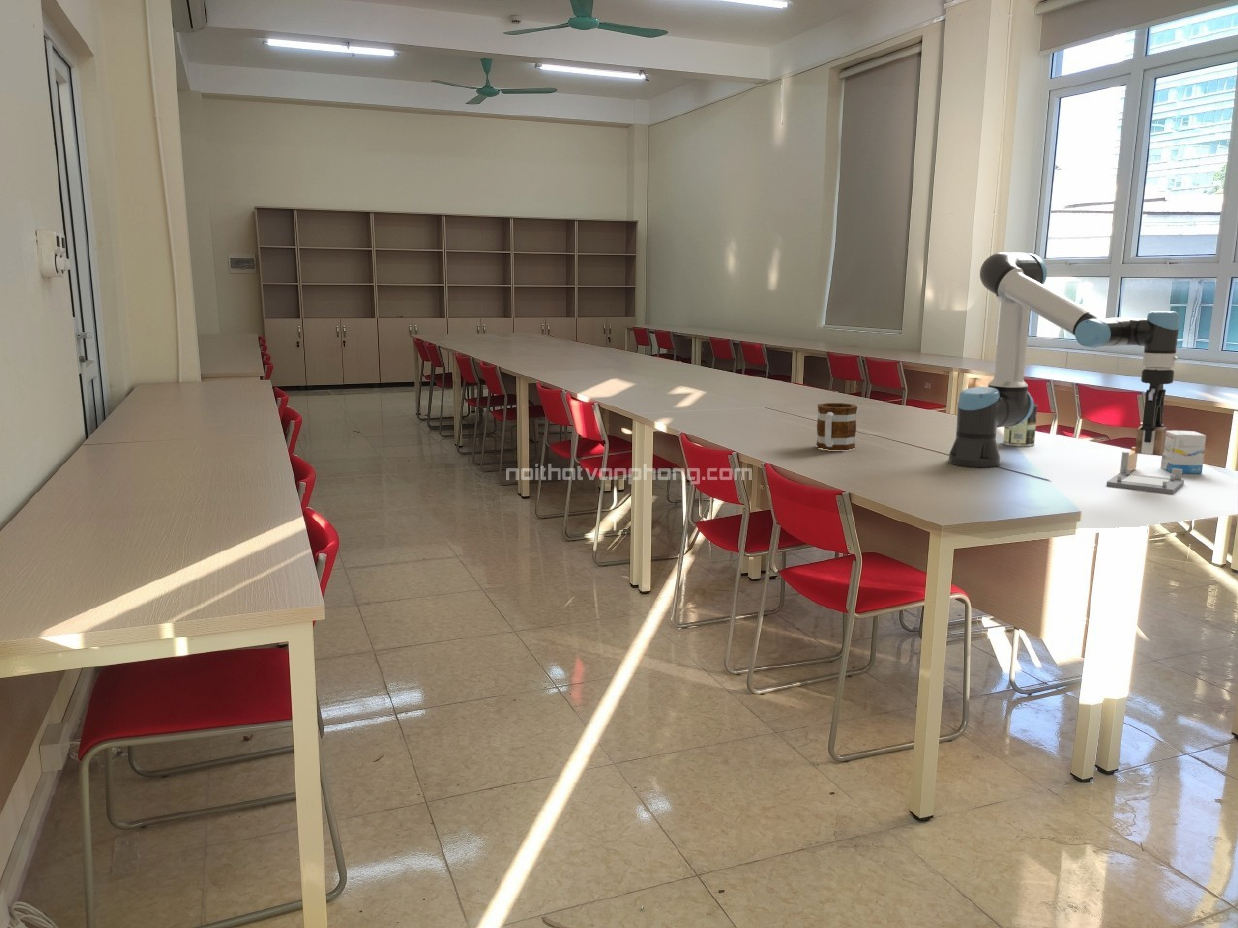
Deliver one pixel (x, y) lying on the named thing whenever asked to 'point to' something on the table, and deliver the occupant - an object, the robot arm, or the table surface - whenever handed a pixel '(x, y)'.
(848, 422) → the mug
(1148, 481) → the housing
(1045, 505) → the table surface
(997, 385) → the robot arm
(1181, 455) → the ink box
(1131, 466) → the lid gate
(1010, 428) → the coffee can
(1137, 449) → the walnut block
